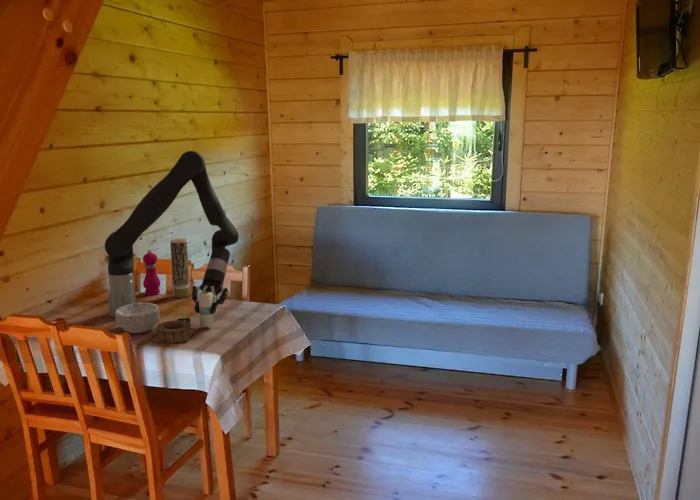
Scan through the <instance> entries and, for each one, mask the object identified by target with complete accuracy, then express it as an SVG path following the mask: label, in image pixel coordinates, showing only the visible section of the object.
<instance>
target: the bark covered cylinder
mask: <svg viewBox="0 0 700 500" xmlns="http://www.w3.org/2000/svg"><path fill="white" fill-rule="evenodd" d="M169 243H170V259H171V268H172V269H171V273H172V274H171V275H172V290H173V297H174V298H176V299H184V298H188V297H189V296H190V293H191V292H190V274H189V257H188V241H187V239H186V238H176V239H171V240H170V242H169Z"/></svg>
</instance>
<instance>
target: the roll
mask: <svg viewBox="0 0 700 500" xmlns="http://www.w3.org/2000/svg"><path fill="white" fill-rule="evenodd" d="M198 297H199V313H198V315H199V317H198V319H199V326H200V327H203V328H207V327H213V326H214V322H215V321H214V314H211V313H210V309H211V306H212V303H213V293H212V292H201V291H199V293H198Z"/></svg>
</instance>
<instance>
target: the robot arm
mask: <svg viewBox="0 0 700 500" xmlns="http://www.w3.org/2000/svg"><path fill="white" fill-rule="evenodd" d="M205 163H206V162H205V158H204V157H203V155H202V154H201V153H199V151H195V150H188V151H185V152H183V153H182V154H181V155H180V157H179V158H178V160H177V161H176V162H175V165H174V166H173V167H172V168H171V169H170V171H169V172H168V173H167V174H166V175H165V176H164V177H163V178H162V179H161V180H160V181H158V183H157V184H155V185H154V186H153V187H152V188H151V189H150V190H149V192H147V194H146V195H144V197H143V198H142V199H141V200H140V201H139V203H138V204H137V206H136V207H135V208H134V209H133V211H132V212H131V214H130V215H129V216H128V217H127V219H126V221H124V223H123V224H122V225H121V226H120V227H118V229H117V230H115V231H113V232H112V233H110V234H109V235H108V236H107V238H106V239H105V241H104V250H105V252H106V255H107V257H108V263H107V274H108V282H109V283H108V286H109V292H108V293H107V294H108V295H107V296H108V297H107V299H108V309H109V318H115V319H116V315H115V311H116V310H117V309H118V308H120V307H122V306H125V305H128V304H134V303H137V296H136V285H135V284H136V283H135V272H134V266H135V265H134V264H135V263H134V262H135V260H134V259H135V258H134V245H135V243H136V242H137V240H138V239H139V238H140V237H141V236H142V234H143V233H144V232H146V230H147V229H149V228H150V227H151V226H152V225H153V224H154V223H155V222H157V220H159V219H160V217H161V216H162V215H163V214H164V213H165V212H166V211H167V209H169V208H170V206H171V205H172V204H173V203H174V201H175V200H176V198H177V196H178V195H179V193H180V192H181V190H182V189H183V188H184V187H185V186H186V185H187V184H188V183H189V182H190V181H191V182H192V183H193V186H194V188H195V190H196V194H197V195H198V198H199V202H200V204H201V208H202V210H203V212H204V214H205V217H206V219H207V221H208V223H209V224H210V226H215V227H218V228H219V229H218V230H216V231H215V232H214V233H213V234H212V236H211V237H212V238H211V254H210V257H209V261H208V263H207V265H206V267H205V268H206V269H205V273H204V275H203V279H202V283H201V284H200V286H196V285H193V286H192V292H191V293H192V295H191V296H192V297H191V300H192V301H193V303H195V304H194V311H195V313H196V314H199V293H200V292H212V293H213V303H212V306H211V309H210V313H211V314H213V315H214V314H215V313H216V311H217V308H218V306H219V305H223V304H224V302H225V301H226V299H227V297H228V295H229V293H230V291H229V290H228V287H223V286H224V285H223V284H224V283H225V282H224V281H225V278H226V274H227V271H228V269H227V268H228V264H229V259H230V256H231V253H230V251H229V249H228V248H226V247H228V246H232V245H235V244H236V243H238V241H239V233H238V232H239V231H238V230H237V228H236V227H235V225H234V224H233V223H232V222H231V220H230V219H229V218H228V216H226V212H225V211H224V209H223V206H222V204H221V201H220V200H219V197H218V196H217V194H216V192H215V189H214V187H213V186H212V183H211V181H210V177H209V175H208V172H207V168H206V164H205ZM220 293H221V294H220ZM219 294H220V296H219V297H218V295H219Z"/></svg>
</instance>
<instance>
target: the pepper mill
mask: <svg viewBox="0 0 700 500" xmlns="http://www.w3.org/2000/svg"><path fill="white" fill-rule="evenodd" d="M142 261H143V263H144V268H145V277H144V278H143V283H142V286H143V287H144V288H145V290H144V294H145V296H156V295H159V294H160V293H161V290H160V287H161V279H160V278H159V276H158V274H157V262H158V256H157V255H156V253H153V250H151V249H147V253H145V254H144V255H143V257H142Z"/></svg>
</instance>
